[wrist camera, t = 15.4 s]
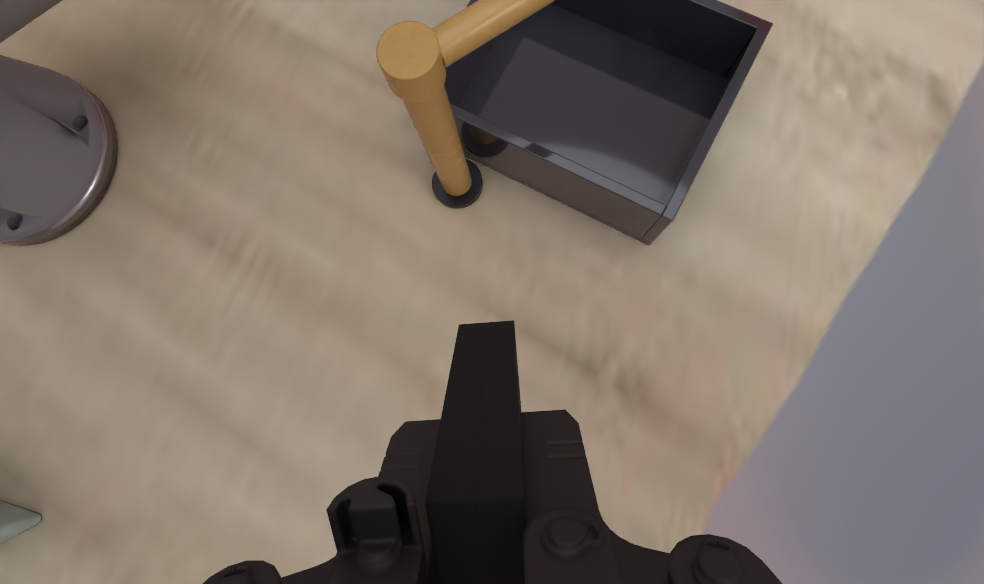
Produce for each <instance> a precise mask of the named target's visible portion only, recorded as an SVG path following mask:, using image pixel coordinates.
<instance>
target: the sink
mask: <svg viewBox="0 0 984 584" xmlns="http://www.w3.org/2000/svg"><path fill="white" fill-rule="evenodd" d="M477 1H478V0H470V2H469V4H468V5H467V7H468V6H470V5H472V4H473V3H475V2H477ZM467 7H466V8H467ZM772 25H773V23H771V22H768V21H766V20H763V19H761V18H759V17H756V16H754V15H751V14H749V13H746V12H744V11H742V10H739V9H737V8H734V7H732V6H729V5H727V4H725V3H722V2H720V1H717V0H555V1H553V2H552V3H550V4H548V5H547V6H545V7H543V8H542V9H540V10H539V11H537V12H535V13H534V14H532V15H530V16H529V17H527V18H526V19H524V20H522V21H521V22H519V23H517V24H516V25H514V26H513V27H511V28H509V29H508V30H506V31H505V32H503V33H501V34H500V35H498V36H496V37H495V38H493V39H492V40H490V41H488V42H487V43H485V44H483V45H482V46H480V47H479V48H477V49H475V50H474V51H472V52H470V53H469V54H467V55H466V56H464V57H462V58H461V59H459V60H458V61H456V62H454V63H453V64H451V65H449V66H448V67H446V79H445V83H444V85H445V89H446V92H447V96H448V99H449V103H450V106H451V109H452V113H453V116H454V120H455V123H456V127H457V130H458V133H459V137H460V140H461V144H462V147H463V151H464V154H465V156H467V157H469V158H471V159H473V160H475V161H477V162H479V163H481V164H483V165H485V166H487V167H489V168H491V169H493V170H495V171H498V172H500V173H502V174H504V175H506V176H508V177H510V178H512V179H514V180H516V181H518V182H520V183H522V184H524V185H526V186H528V187H530V188H532V189H534V190H537V191H539V192H541V193H543V194H545V195H547V196H549V197H551V198H553V199H555V200H557V201H559V202H561V203H563V204H565V205H567V206H569V207H571V208H574V209H576V210H578V211H580V212H582V213H584V214H586V215H588V216H590V217H592V218H594V219H596V220H598V221H600V222H602V223H604V224H606V225H608V226H610V227H613V228H615V229H617V230H619V231H621V232H623V233H625V234H627V235H629V236H631V237H633V238H635V239H637V240H639V241H641V242H643V243H645V244H647V245H650V244H651V243H652V242H653V241H654V240H655V239H656V238H657V237H658V236H659V235H660V234H661V233H662V232H663V230H664V229H665V228H666V227H667V226H668V225H669V224H670V223H671V222H672V221H673V220H674V218H675V216H676V214H677V212H678V210H679V208H680V206H681V204H682V202H683V200H684V198H685V196H686V195H687V193H688V191H689V189H690V187H691V185H692V183H693V181H694V179H695V177H696V175H697V173H698V171H699V169H700V167H701V165H702V163H703V161H704V159H705V157H706V155H707V153H708V151H709V149H710V147H711V145H712V143H713V141H714V139H715V137H716V135H717V133H718V131H719V129H720V128H721V126H722V124H723V122H724V120H725V118H726V116H727V114H728V112H729V110H730V108H731V106H732V104H733V102H734V100H735V98H736V96H737V94H738V92H739V90H740V88H741V86H742V84H743V82H744V80H745V78H746V76H747V74H748V72H749V70H750V68H751V66H752V64H753V63H754V61H755V59H756V57H757V55H758V53H759V51H760V49H761V47H762V45H763V43H764V41H765V39H766V37H767V35H768V33H769V31H770V29H771V27H772Z"/></svg>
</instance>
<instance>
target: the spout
mask: <svg viewBox="0 0 984 584" xmlns="http://www.w3.org/2000/svg"><path fill="white" fill-rule="evenodd" d="M553 1H555V0H478V1H477V2H475V3H473V4H472V5H470V6H468V7H467V8H465V9H464V10H462V11H460V12H459V13H457V14H455V15H454V16H452V17H451V18H449V19H447V20H446V21H444V22H442V23H441V24H439V25H438V26H436V27H434V28H433V29H430V28H428V27H427V26H426V25H424V24H421V23H419V22H413V21H406V22H401V23H398V24H395V25H393V26H392V27H390V28H389V29H388V30H386V31H385V33H384V34H383V35H382V36H381V38H380V40H379V42H378V45H377V52H376V54H377V61H378V63H379V66H380V68H381V70H382V72H383V74H384V76H385V78H386V80H387V82H388V84H389V86H390V88H391V90H392V91H393V93H394V94H395V95H396V96H397V97H399V98H400V99H402V100H404V101H407V102H412V103H419V102H424V101H427V100H429V99H431V98H433V97H434V96H435V95H437V94H438V93H439V91H440V90H441V89H442V87H443V85H444V83H445V79H446V67H448V66H449V65H451V64H453V63H454V62H456V61H458V60H459V59H461V58H462V57H464V56H466V55H467V54H469V53H470V52H472V51H474V50H475V49H477V48H479V47H480V46H482V45H483V44H485V43H487V42H488V41H490V40H492V39H493V38H495V37H496V36H498V35H500V34H501V33H503V32H505V31H506V30H508V29H509V28H511V27H513V26H514V25H516V24H517V23H519V22H521V21H522V20H524V19H526V18H527V17H529V16H530V15H532V14H534V13H535V12H537V11H539V10H540V9H542V8H543V7H545V6H547V5H548V4H550V3H552V2H553Z"/></svg>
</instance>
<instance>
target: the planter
mask: <svg viewBox="0 0 984 584" xmlns="http://www.w3.org/2000/svg"><path fill="white" fill-rule="evenodd" d="M40 520H41V516H40V515H39V514H37V513H34V512H31V511H28V510H26V509H23V508H20V507H17V506H14V505H11V504H8V503H5V502H2V501H0V543H2V542H4V541H6V540H8V539H10V538H12V537H14V536H16V535H18V534H20V533H22V532H24V531H26V530H28V529H30V528H31V527H33V526H35V525H36V524H37V523H38V522H39V521H40Z"/></svg>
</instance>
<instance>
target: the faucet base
mask: <svg viewBox="0 0 984 584" xmlns="http://www.w3.org/2000/svg"><path fill="white" fill-rule="evenodd" d="M403 102H404V104H405V107H406V109H407V111H408V113H409V115H410V117H411V119H412V122H413V124H414V126H415V128H416V130H417V132H418V135H419V137H420V139H421V141H422V143H423V145H424V148H425V150H426V152H427V154H428V156H429V158H430V160H431V163H432V165H433V167H434V169H435V173H434V175H433V179H432V187H433V190H434V193H435V195H436V197H437V198H438V200H439V201H440V202H441V203H443V204H444V205H446V206H448V207H451V208H464V207H467V206H469V205H471V204H472V203H474V202H475V201H476V200H477V198H478V197H479V195H480V193H481V191H482V185H483V182H482V177H481V173H480V171H479V169H478V168H477V166H476V165H475V164H473V163H472V162H470V161H469V160H466V157H465V154H464V151H463V147H462V144H461V140H460V137H459V133H458V130H457V127H456V123H455V120H454V116H453V113H452V109H451V106H450V103H449V99H448V96H447V92H446V89H445V85H443V87H442V89H441V90H440V91H439V93H438V94H437V95H435V96H434V97H433V98H431V99H429V100H427V101H424V102H419V103H412V102H407V101H404V100H403Z"/></svg>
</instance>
